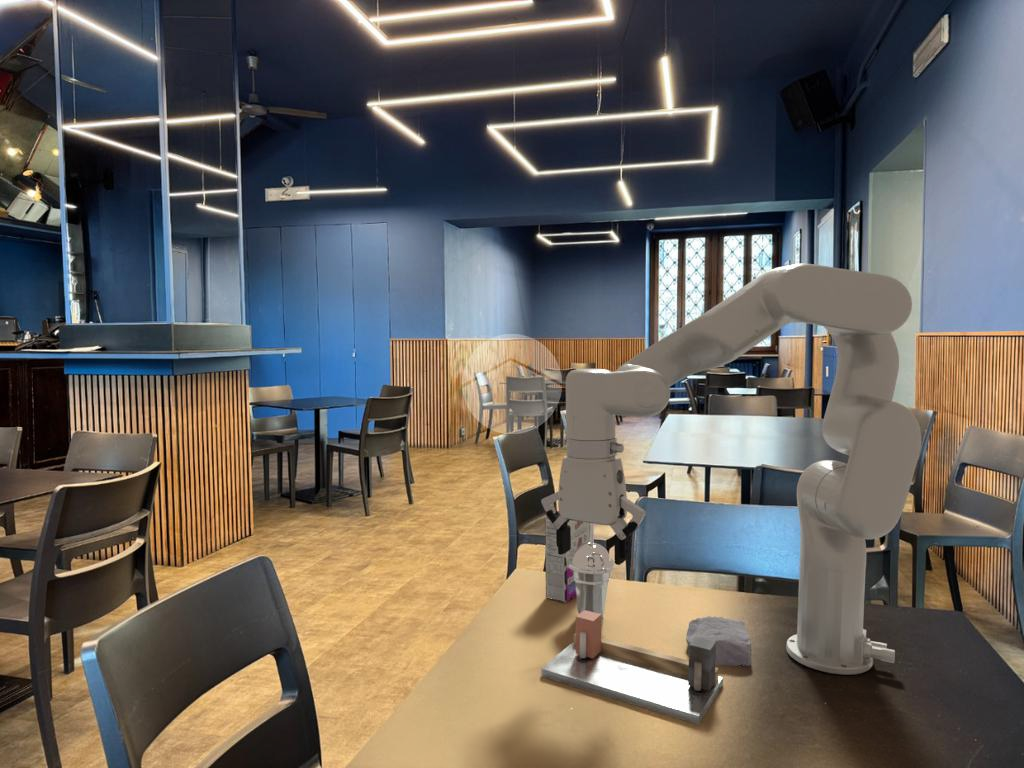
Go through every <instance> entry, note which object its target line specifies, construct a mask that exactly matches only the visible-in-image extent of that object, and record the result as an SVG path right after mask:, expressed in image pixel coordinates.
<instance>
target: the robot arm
mask: <svg viewBox="0 0 1024 768" xmlns="http://www.w3.org/2000/svg"><path fill="white" fill-rule="evenodd" d="M912 300H913V299H912V297H911V293H910V292H909V290H908V287H906V286H905V285H904V284H903V283H902V281H900V280H898V279H897V278H894V277H892V276H890V275H884V274H879V273H874V272H873V273H872V272H865V271H859V270H858V271H857V270H853V269H852V270H851V269H845V268H837V267H833V266H826V265H820V264H812V263H795V264H790V265H785V266H779V267H775V268H772V269H770V270H767V271H766V272H764V273H762V274H760V275H759V276H757V277H756V278H754V279H753V280H751V281H750V282H748V283H747V284H745V285H744V286H742V287H741V288H740V289H738V290H736V291H734V293H732V294H731V295H729V296H728V297H727V298H725V299H724V300H722V301H721V302H719V303H717V304H716V305H714V306H713V307H712V308H711V309H709V310H706V312H704V313H703V314H701V315H699V316H698V317H696V318H695V319H693V320H691V321H690V322H687V323H686V324H685V325H683V326H681V327H680V328H679V329H676V330H675V331H674V332H672V333H670V334H668V335H667V336H665V337H663V338H661V339H660V340H658V341H656V342H655V343H653V344H652V345H650V346H649V347H647V348H645V349H644V350H642V351H641V352H640V353H638V354H636V355H635V356H633V357H632V358H631V359H629V360H628V361H626V362H625V363H623V364H622V365H620V366H619V367H618V368H617V369H616V370H615V371H611V370H608V369H607V368H606V369H605V368H577V369H573V370H570V371H569V372H568V373H567V375H566V377H565V424H566V425H565V426H566V427H565V428H566V432H565V434H566V455H564V456H563V457H562V462H561V467H560V472H559V482H558V491H556V492H554V493H552V494H550V495H548V496H545V497H544V498H542V499H541V500H540V502H541V505H542V507H543V509H544V511H545V512H546V513H545V515H546V516H545V517H548V518H549V520H550V521H551V522H552V523H553V527H554V529H556V545H557V547H558V554H560V555H562V554H564V553H566V552H567V551H569V550H570V549H571V528H570V525H568V522H569V521H570V520H573V521H580V522H586V523H593V524H594V525H600V526H602V525H603V526H609V527H610V528H611V529H612V531H613V532H614V533H615V535H616V536H617V537H616V538H615V539H614V542H613V543H614V546H613V547H614V565H615V566H616V565H617V566H620V565H621V564H623V563H624V562H626V561H627V559H628V558H629V556H630V536H631V535H632V534H633V533H634V532H635V531H636V530H637V529H638V528H640V526H641V524H642V522H643V520H644V518H645V516H646V514H647V512H646V510H645V509H643V508H642V507H641V506H640V505H637V504H635V502H633V501H631V500H630V499H628V497H627V487H626V478H625V471H624V467H623V462H622V459H621V457H618V456H617V454H619V453H621V454H622V453H623V452H624V448H625V445H624V444H623V443H619V442H618V441H617V437H616V416H625V417H633V418H649V417H653V416H656V415H658V414H660V413H661V412H663V411H664V409H665V408H666V407H667V406H668V404H669V401H670V397H671V388H670V387H672V386H673V385H675V384H676V383H678V382H679V381H681V380H684V379H686V378H688V377H690V376H692V375H694V374H696V373H700V372H702V371H707V370H711V369H715V368H716V369H717V368H720V367H722V366H724V365H727V364H729V363H732V362H733V361H735V360H737V359H738V358H739V357H741V356H742V355H744V354H745V353H747V352H748V351H750V350H751V349H753V348H754V347H755V346H757V345H758V344H760V343H761V342H763V341H764V340H766V339H768V338H769V337H770V336H772V335H773V334H775V333H777V332H778V331H780V330H781V329H783V328H784V327H785V326H787V325H789V324H791V323H792V324H793V323H794V324H795V323H796V324H797V323H803V324H809V325H813V326H814V325H815V326H820V327H824V329H825V330H826V331H827V332H828V333H829V335H830V336H831V338H832V340H833V342H834V345H835V347H836V350H837V351H836V352H837V365H836V372H835V377H834V380H833V384H832V387H831V391H830V393H829V395H830V396H829V399H828V402H827V406H826V410H825V413H824V417H823V420H822V425H821V433H822V437H823V439H824V441H825V443H826V444H827V445H828V446H829V447H830V448H832V449H833V450H835V451H836V452H839V453H841V454H843V455H847V456H848V461H847V463H845V462H842V461H838V460H831V459H830V460H829V459H827V460H826V459H825V460H819V461H816V462H814V463H812V464H809V466H807V467H806V468H805V469H804V471H803V472H802V473H801V474H800V476H799V479H798V482H797V484H796V485H797V486H796V502H797V511H798V518H799V529H800V530H799V533H800V534H799V535H800V536H799V537H800V540H799V541H800V542H799V544H800V546H799V567H798V568H799V569H798V570H799V571H798V572H799V573H798V593H797V594H798V595H797V597H798V598H797V599H798V601H797V623H796V624H797V625H796V631H797V632H796V634H793V635H792V636H790V637H788V639H786V646H785V649H786V652H787V654H788V655H789V656H790V658H792V659H793V660H795V661H797V662H798V663H799V664H801V665H803V666H804V667H808V668H810V669H813V670H816V671H820V672H824V673H827V674H834V675H847V676H848V675H859V674H863V673H865V672H867V671H869V670H870V669H871V668H872V667H873V664H874V659H876V660H880V661H883V662H886V663H887V662H888V663H890V664H891V663H892V664H894V663H895V655H896V650H895V649H891V648H887V647H888V643H886V642H879V641H873V640H871V638H869V637H867V629H864V613H865V612H864V610H865V591H866V587H865V586H866V585H865V584H866V568H867V544H866V540H875V539H879V538H882V537H884V536H887V534H889V533H890V532H891V531H892V530H893V529H894V528H895V527H896V525H897V524H898V523H899V520H900V518H901V517H902V514H903V511H904V509H905V505H906V501H907V498H908V495H909V492H910V488H911V485H912V481H913V478H914V473H915V470H916V468H917V464H918V462H919V461H918V460H919V456H920V452H921V449H922V431H921V427H920V423H919V421H918V419H917V418H916V416H915V414H914V413H913V412H912V411H911V410H910V409H909V408H908V407H907V406H904V405H903V404H901V403H899V402H896V401H893V399H894V398H893V397H894V394H895V389H896V384H897V380H898V375H899V370H900V355H899V349H898V347H897V344H896V341H895V338H894V336H893V334H892V333H893V332H895V331H897V330H898V329H900V328H901V327H902V326H903V325H904V324H905V323H906V322H907V321H908V319H909V317H910V316H911V313H912V308H913V307H912V306H913V301H912ZM557 501H558V503H557V505H558V510H557V509H556V508H555V502H557ZM558 511H559V512H558ZM628 513H629V514H631V516H632V518H631V520H630V522H629V523H627V521H626V519H625V518H626V517H627V516H628Z"/></svg>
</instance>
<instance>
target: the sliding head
mask: <svg viewBox="0 0 1024 768" xmlns="http://www.w3.org/2000/svg"><path fill="white" fill-rule="evenodd" d="M602 621H603V620H602V614H599V613H595V612H590V611H586V610H584V611H583V612H581V613H580V614H578V615H576V617H575V633H576V654H579V655H580V658H586V657H589V658H594V657H595V656H596V655H597V654H598V653H599V652H601V638H602V626H603V625H602Z"/></svg>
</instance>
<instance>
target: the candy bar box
mask: <svg viewBox="0 0 1024 768" xmlns="http://www.w3.org/2000/svg"><path fill="white" fill-rule="evenodd" d="M557 511H558V512H559V510H557ZM568 525H570V528H571V549H570V550H569V551H567V552H566V553H564V554H562V555H560V554H558V547H557V545H556V529H554V527H553V523H552V522H551V521H550V520H549V518H548V517H547V516H545V517H544V542H545V543H544V546H545V547H544V549H545V553H544V554H545V561H544V562H545V598H546V597H549V598H552V599H555V600H558V601H557V602H560V601H562V602H561V603H564V604H567V603H569V602H570V601H571V600H572V599H574V598H575V597H576V591H575V581H574V579H573V574H572V570H571V569H570V568H569V567H568V563H569V559H570V558H571V557H573V554H574V552H575V551H576V549H577V548H578V547H579V546H581V545H583V544H585V543H590V523H586V522H580V521H573V520H570V521H569V522H568ZM574 596H575V597H574ZM573 597H574V598H573ZM570 599H571V600H570ZM555 600H554V601H555ZM569 600H570V601H569Z"/></svg>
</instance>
